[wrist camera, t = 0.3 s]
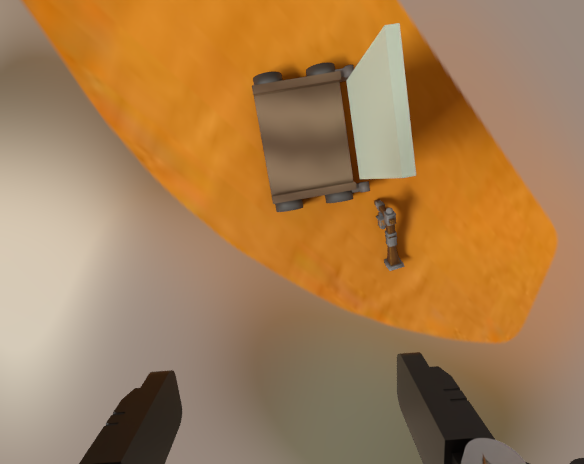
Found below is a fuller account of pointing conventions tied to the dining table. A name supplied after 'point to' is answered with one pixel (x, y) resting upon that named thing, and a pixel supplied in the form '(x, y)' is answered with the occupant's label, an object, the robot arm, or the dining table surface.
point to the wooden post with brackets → (389, 234)
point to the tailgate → (382, 110)
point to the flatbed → (305, 136)
